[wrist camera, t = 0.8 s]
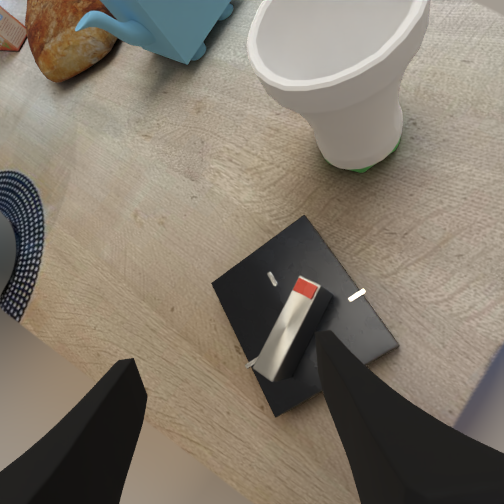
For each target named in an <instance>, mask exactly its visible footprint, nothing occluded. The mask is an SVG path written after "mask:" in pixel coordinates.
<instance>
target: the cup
mask: <svg viewBox="0 0 504 504" xmlns="http://www.w3.org/2000/svg"><path fill="white" fill-rule="evenodd" d="M429 11H430V0H263V2H262V3H261V5H260V6H259V8H258V10H257V12H256V14H255V17H254V19H253V21H252V24H251V26H250V29H249V33H248V38H247V42H246V48H247V54H248V60H249V62H250V64H251V66H252V68H253V70H254V72H255V74H256V75H257V77H258V79H259V80H260V82H261V84H262V85H263V87H264V89H265V90H266V92H267V94H268V95H269V96H270V97H272V98H273V99H274V100H275V101H276V102H278V103H279V104H280V105H281V106H283V107H285V108H287V109H290V110H292V111H294V112H296V113H299V114H300V115H301V116H302V117H303V118H305V119H306V120H307V122H308V123H309V124H310V126H311V127H312V128H313V130H314V133H315V138H316V142H317V145H318V147H319V149H320V151H321V153H322V155H323V157H324V158H325V160H326V161H327V162H328V163H329V164H331V165H334V166H336V167H338V168H341V169H347V170H351V171H356V172H359V173H362V172H366V171H367V170H368V169H369V168H371V167H372V166H374V165H375V164H376V163H378V162H380V161H382V160H383V159H384V158H385V157H386V156H388V155H389V154H391V153H392V152H394V151H395V150H396V149H397V147H398V145H399V142H400V137H401V134H402V127H403V113H402V110H401V107H400V104H399V89H400V83H401V80H402V78H403V75H404V72H405V70H406V67H407V66H408V64H409V63H410V61H411V60H412V59H413V57H414V56H415V54H416V53H417V52H418V50H419V48H420V46H421V43H422V40H423V38H424V35H425V32H426V29H427V27H428V22H429Z"/></svg>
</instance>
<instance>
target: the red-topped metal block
mask: <svg viewBox="0 0 504 504" xmlns="http://www.w3.org/2000/svg"><path fill="white" fill-rule="evenodd" d="M332 295H333V294H332V293H331V292H330V291H328V290H327V289H325V288H324V287H323V286H321V285H320V284H318V283H316V282H313V281H311V280H309V279H307V278H305V277H303V276H301V275H300V276H299V277H298V279H297V281H296V283H295V285H294V287H293V289H292V291H291V293H290V295H289V297H288V299H287V301H286V303H285V305H284V307H283V309H282V311H281V313H280V315H279V317H278V319H277V321H276V323H275V325H274V327H273V329H272V331H271V333H270V335H269V337H268V339H267V341H266V342H265V344H264V346H263V348H262V350H261V352H260V354H259V356H258V358H257V360H256V362H255V364H254V366H253V369H254V370H256V371H257V372H259V373H260V374H262V375H263V376H264V377H266V378H267V379H269V380H270V381H271V382H275V381H280V380H284V379H289V378H291V377H292V375H293V373H294V371H295V369H296V367H297V365H298V363H299V361H300V359H301V357H302V355H303V353H304V351H305V349H306V347H307V345H308V343H309V341H310V339H311V337H312V335H313V333H314V331H315V329H316V327H317V325H318V323H319V321H320V319H321V317H322V315H323V313H324V311H325V309H326V307H327V305H328V303H329V301H330V299H331V297H332Z"/></svg>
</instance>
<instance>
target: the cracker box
mask: <svg viewBox="0 0 504 504" xmlns="http://www.w3.org/2000/svg"><path fill="white" fill-rule="evenodd" d="M26 37H27V34H26V27H25V26H24V25H23V24H21V23H20V22H19V21H18V20H17V19H16V18H14V17H13V16H12V15H11V14H10V13H9V12H7V11H6V10H5V9H4V8H3V7H1V6H0V50H12V51H18V50H19V49H20V47H21V45H22V44H23V42H24V40H25V38H26Z"/></svg>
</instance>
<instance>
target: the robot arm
mask: <svg viewBox="0 0 504 504" xmlns="http://www.w3.org/2000/svg"><path fill="white" fill-rule="evenodd" d="M315 340H316V354H317V367H318V375H319V378H320V382H321V386H322V390H323V393H324V397H325V400H326V402H327V405H328V408H329V410H330V413H331V416H332V418H333V421H334V423H335V426H336V428H337V431H338V434H339V436H340V439H341V441H342V444H343V447H344V449H345V452H346V455H347V458H348V460H349V463H350V466H351V470H352V473H353V477H354V480H355V484H356V487H357V491H358V494H359V498H360V501H361V504H504V453H502V452H499V451H498V450H495V449H493V448H491V447H489V446H487V445H485V444H483V443H480V442H478V441H476V440H474V439H472V438H470V437H468V436H466V435H464V434H463V433H461V432H459V431H457V430H455V429H453V428H452V427H450V426H448V425H446V424H444V423H443V422H441V421H439V420H438V419H436V418H434V417H433V416H431V415H430V414H428V413H426V412H425V411H423V410H422V409H420V408H418V407H417V406H415V405H414V404H413V403H411V402H410V401H408V400H407V399H405V398H404V397H403V396H401V395H400V394H399V393H397V392H396V391H395V390H393V389H392V388H391V387H389V386H388V385H387V384H386V383H385V382H383V381H382V380H381V379H380V378H379V377H377V376H376V375H375V374H374V373H373V372H372V371H371V370H370V369H368V368H367V367H366V366H365V365H364V364H363V363H362V362H361V361H360V360H359V359H358V358H357V357H356V356H355V355H354V354H353V353H352V352H351V351H350V350H349V349H348V348H347V347H346V346H345V345H344V344H343V343H342V342H341V340H340V339H339V338H338V337H337V336H336V335H335V334H334V332H333V331H331V330H326V331H319V332H315ZM146 403H147V393H146V391H145V388H144V385H143V382H142V380H141V377H140V374H139V371H138V369H137V366H136V363H135V360H134V358H131V359H124V360H118V361H117V362H116V363H115V364H114V365H113V366H112V367H111V368H110V370H109V371H108V372H107V373H106V374H105V375H104V376H103V377H102V378H101V379H100V380H99V381H98V383H97V384H96V385H95V386H94V387H93V388H92V389H91V390H90V391H89V392H88V393H87V394H86V396H84V397H83V399H82V400H81V401H80V402H79V403H78V404H77V405H76V406H75V407H74V408H73V409H72V410H71V411H70V412H69V413H68V414H67V415H66V416H65V417H64V418H63V419H62V420H61V421H60V422H59V423H58V424H57V425H56V426H54V427H53V428H52V429H51V430H50V431H49V432H48V433H47V434H46V435H45V436H44V437H42V438H41V439H40V440H39V441H38V442H37V443H35V444H34V445H33V446H32V447H31V448H30V449H29V450H27V451H26V452H25V453H24V454H23V455H21V456H20V457H19V458H17V459H16V460H15V461H14V462H12V463H11V464H10V465H8V466H7V467H6V468H5V469H3V470H2V471H1V472H0V504H119V502H120V497H121V494H122V490H123V486H124V483H125V479H126V476H127V473H128V470H129V467H130V463H131V460H132V457H133V454H134V451H135V447H136V444H137V441H138V437H139V434H140V431H141V427H142V424H143V420H144V414H145V409H146Z"/></svg>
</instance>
